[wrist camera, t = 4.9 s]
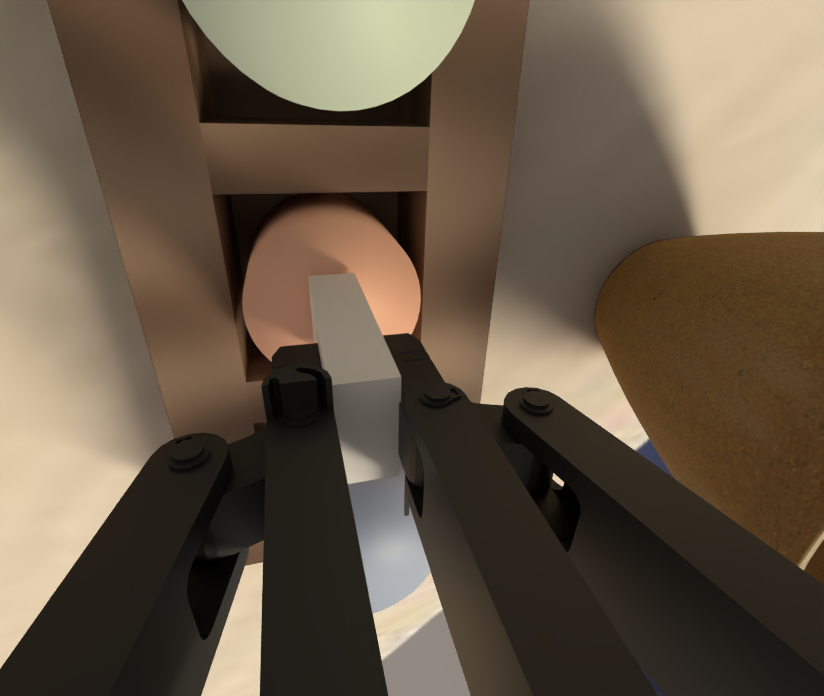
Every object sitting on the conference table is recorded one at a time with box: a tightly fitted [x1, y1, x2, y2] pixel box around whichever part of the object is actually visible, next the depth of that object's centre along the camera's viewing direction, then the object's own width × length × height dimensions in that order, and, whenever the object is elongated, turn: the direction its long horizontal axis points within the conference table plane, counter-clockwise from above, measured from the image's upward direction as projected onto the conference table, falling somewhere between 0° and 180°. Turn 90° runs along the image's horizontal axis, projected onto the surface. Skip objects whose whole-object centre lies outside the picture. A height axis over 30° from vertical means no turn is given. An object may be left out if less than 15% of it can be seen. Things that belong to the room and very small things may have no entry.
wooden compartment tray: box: [47, 0, 529, 566], centre depth 19 cm, size 28×13×5 cm, turn 179°
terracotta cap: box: [242, 192, 421, 362], centre depth 17 cm, size 6×6×5 cm
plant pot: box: [595, 232, 824, 584], centre depth 20 cm, size 15×15×16 cm
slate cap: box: [348, 460, 430, 613], centre depth 19 cm, size 6×6×5 cm
